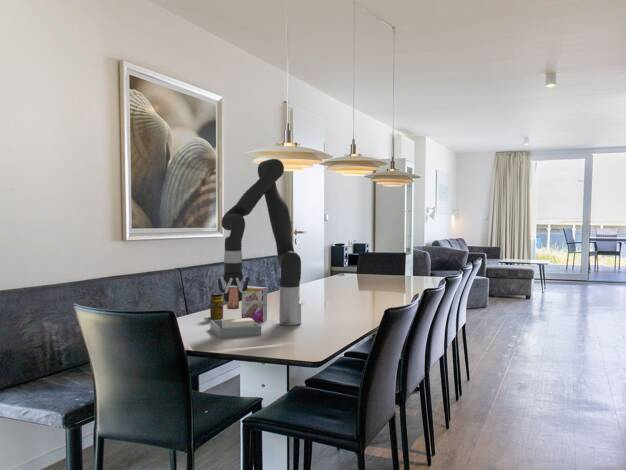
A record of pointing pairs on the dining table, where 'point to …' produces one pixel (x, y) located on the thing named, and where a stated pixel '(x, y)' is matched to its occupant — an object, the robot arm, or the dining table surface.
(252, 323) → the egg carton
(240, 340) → the dining table surface
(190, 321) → the dining table surface
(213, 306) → the condiment
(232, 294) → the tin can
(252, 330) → the tote
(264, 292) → the candy bar box
